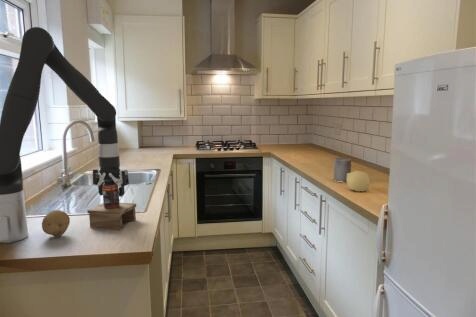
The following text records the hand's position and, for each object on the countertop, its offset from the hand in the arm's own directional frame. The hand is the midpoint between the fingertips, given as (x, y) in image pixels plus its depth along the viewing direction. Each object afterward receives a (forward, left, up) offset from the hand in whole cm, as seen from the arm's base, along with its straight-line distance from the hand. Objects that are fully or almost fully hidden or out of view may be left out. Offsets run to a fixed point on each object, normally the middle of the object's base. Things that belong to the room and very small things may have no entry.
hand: (111, 195), depth 138 cm
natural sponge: (-17, +12, -12) cm, 24 cm away
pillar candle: (+96, -93, -12) cm, 134 cm away
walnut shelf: (0, 0, -12) cm, 12 cm away
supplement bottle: (0, 0, -5) cm, 5 cm away
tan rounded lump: (+75, -100, -12) cm, 126 cm away
